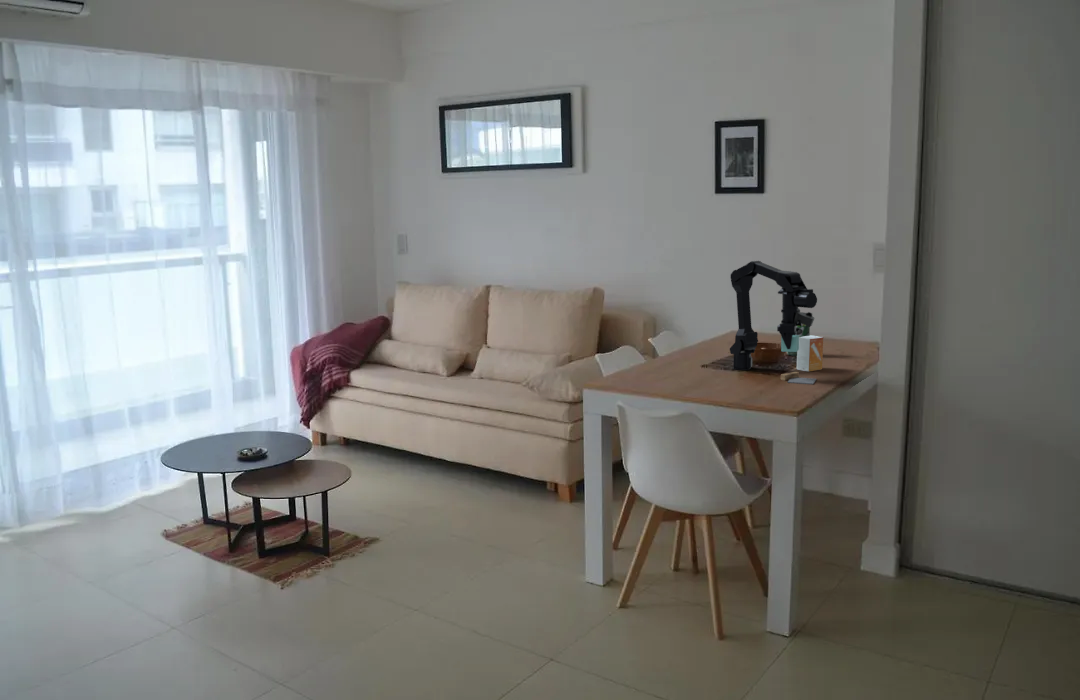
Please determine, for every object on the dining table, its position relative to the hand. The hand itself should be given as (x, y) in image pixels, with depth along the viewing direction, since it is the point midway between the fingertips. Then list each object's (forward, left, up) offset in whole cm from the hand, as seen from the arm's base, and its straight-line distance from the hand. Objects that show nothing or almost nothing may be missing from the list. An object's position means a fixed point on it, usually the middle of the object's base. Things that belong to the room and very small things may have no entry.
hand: (790, 347), depth 335 cm
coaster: (+5, -3, -12) cm, 13 cm away
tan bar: (0, 0, -12) cm, 12 cm away
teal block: (0, 0, -1) cm, 1 cm away
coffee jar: (-5, +51, -12) cm, 52 cm away
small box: (+4, +21, -12) cm, 24 cm away
